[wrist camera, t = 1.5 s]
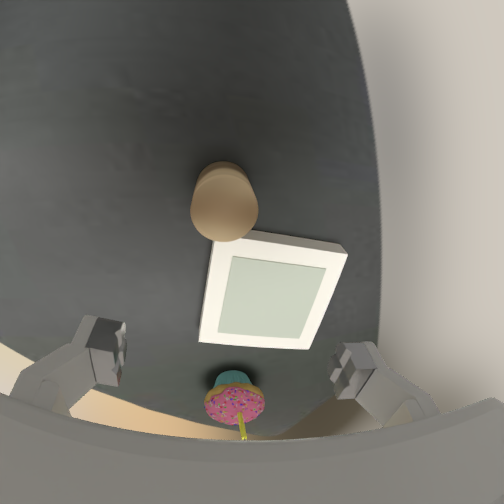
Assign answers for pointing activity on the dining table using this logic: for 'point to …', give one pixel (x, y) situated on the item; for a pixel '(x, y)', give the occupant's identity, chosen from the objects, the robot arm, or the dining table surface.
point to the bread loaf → (223, 202)
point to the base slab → (268, 290)
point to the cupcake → (234, 400)
